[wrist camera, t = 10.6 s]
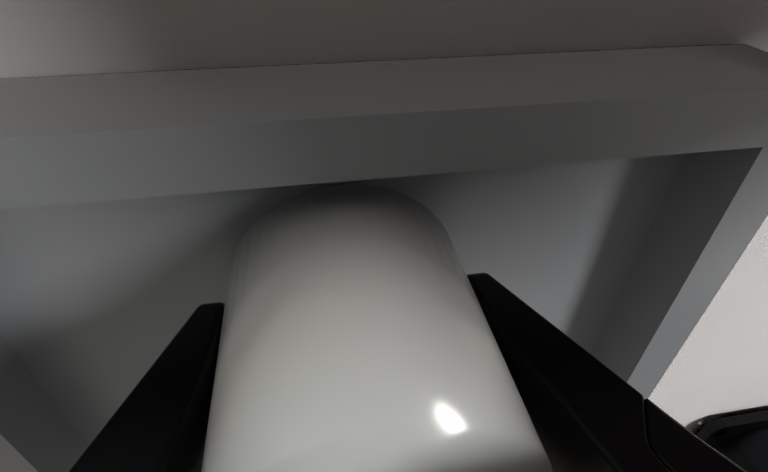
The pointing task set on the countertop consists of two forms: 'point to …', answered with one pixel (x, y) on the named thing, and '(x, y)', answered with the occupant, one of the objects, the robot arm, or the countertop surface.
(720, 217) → the tray
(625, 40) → the countertop surface
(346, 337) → the pebble grey
